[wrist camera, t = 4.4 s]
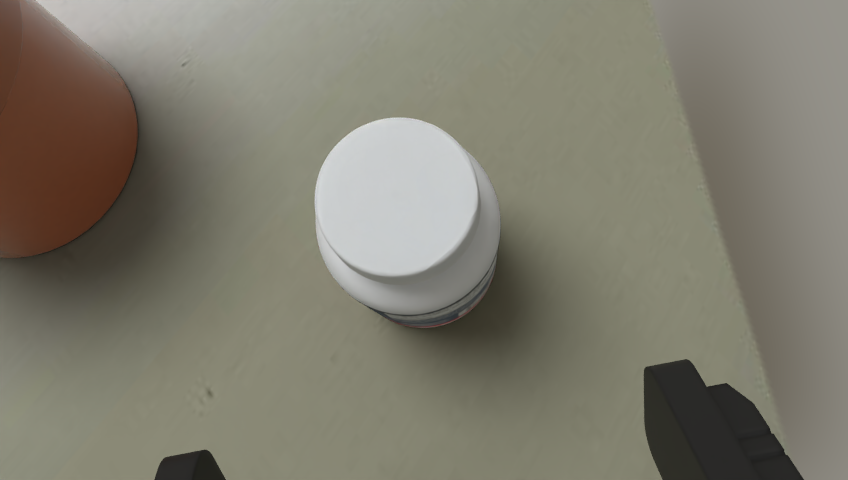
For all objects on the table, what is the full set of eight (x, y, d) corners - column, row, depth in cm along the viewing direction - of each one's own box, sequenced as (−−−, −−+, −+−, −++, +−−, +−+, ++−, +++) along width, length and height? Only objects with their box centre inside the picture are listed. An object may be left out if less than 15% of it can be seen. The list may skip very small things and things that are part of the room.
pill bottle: (340, 207, 25) (267, 117, 17) (474, 172, 25) (472, 63, 16) (371, 345, 24) (310, 326, 15) (512, 310, 24) (531, 270, 15)
